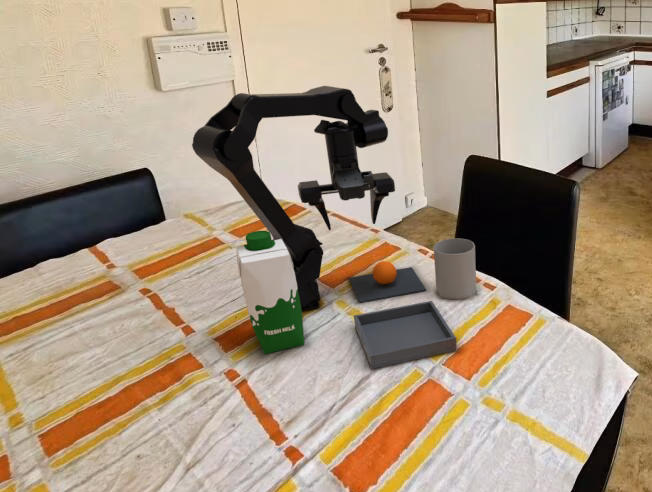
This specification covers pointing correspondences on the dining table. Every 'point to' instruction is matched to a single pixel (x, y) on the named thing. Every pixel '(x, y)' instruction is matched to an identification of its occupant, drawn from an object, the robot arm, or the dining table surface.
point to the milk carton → (270, 292)
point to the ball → (384, 272)
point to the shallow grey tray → (404, 334)
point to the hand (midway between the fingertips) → (352, 226)
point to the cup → (455, 268)
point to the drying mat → (386, 286)
